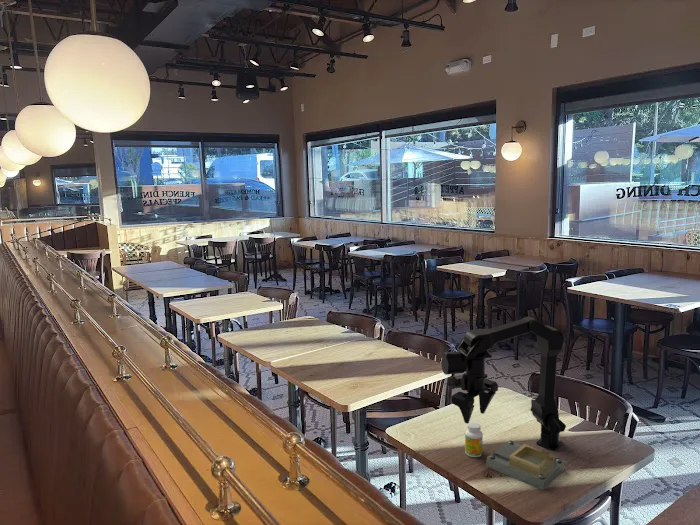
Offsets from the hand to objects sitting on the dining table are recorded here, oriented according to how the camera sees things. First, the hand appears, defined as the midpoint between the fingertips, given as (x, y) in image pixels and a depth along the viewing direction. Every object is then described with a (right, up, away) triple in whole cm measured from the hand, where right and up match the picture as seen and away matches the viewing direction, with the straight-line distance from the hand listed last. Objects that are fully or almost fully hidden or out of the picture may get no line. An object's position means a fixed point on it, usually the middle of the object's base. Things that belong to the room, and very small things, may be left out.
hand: (474, 418), depth 163 cm
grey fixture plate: (+14, -13, -7) cm, 20 cm away
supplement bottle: (0, -12, +2) cm, 12 cm away
